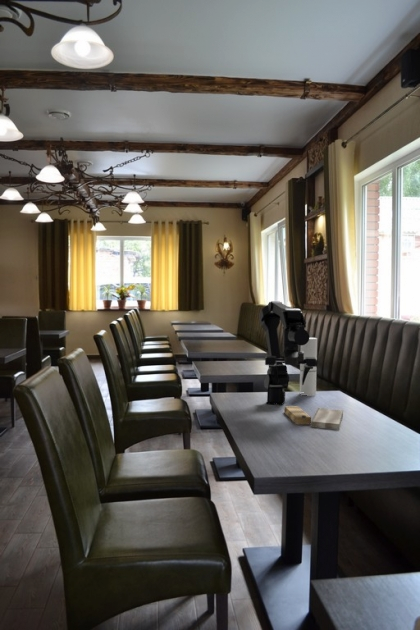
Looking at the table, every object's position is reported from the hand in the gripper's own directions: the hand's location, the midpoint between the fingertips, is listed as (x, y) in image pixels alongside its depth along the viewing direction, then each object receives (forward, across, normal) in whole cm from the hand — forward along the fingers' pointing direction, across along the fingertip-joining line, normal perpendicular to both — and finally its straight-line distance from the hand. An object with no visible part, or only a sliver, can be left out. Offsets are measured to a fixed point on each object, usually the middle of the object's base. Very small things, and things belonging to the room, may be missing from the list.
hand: (290, 384), depth 175 cm
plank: (+11, +2, -8) cm, 14 cm away
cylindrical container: (+11, +9, +34) cm, 37 cm away
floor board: (+10, +13, -9) cm, 19 cm away
